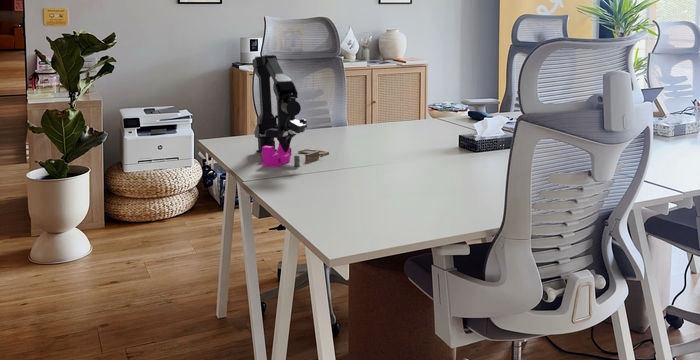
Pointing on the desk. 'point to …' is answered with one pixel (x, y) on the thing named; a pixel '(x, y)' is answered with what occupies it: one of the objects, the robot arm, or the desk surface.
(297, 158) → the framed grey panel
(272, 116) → the robot arm
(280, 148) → the magenta curved bracket
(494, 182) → the desk surface
